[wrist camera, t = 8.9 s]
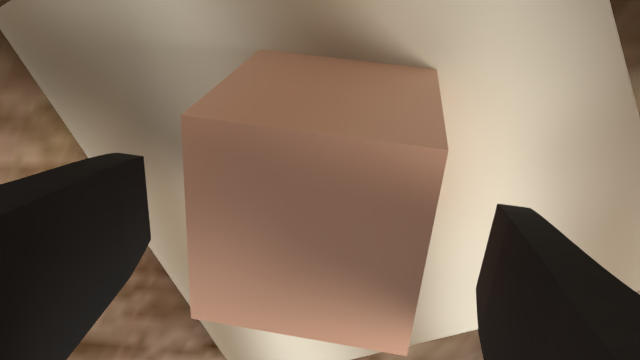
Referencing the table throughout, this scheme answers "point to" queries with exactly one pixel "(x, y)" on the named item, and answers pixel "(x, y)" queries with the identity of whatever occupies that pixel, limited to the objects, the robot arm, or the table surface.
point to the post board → (381, 47)
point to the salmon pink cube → (314, 197)
